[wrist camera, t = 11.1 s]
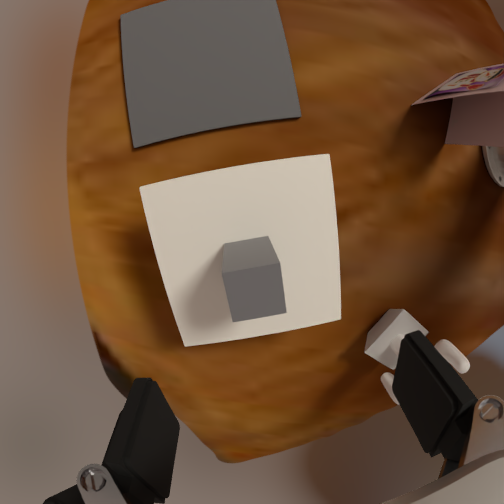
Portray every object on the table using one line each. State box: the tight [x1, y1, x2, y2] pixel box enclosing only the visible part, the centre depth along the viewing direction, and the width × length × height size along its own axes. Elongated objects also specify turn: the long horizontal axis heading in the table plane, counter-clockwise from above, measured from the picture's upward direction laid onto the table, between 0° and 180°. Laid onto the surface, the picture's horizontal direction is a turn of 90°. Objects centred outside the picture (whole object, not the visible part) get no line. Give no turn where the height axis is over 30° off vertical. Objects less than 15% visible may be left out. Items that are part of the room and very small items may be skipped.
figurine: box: [364, 309, 470, 405], centre depth 28 cm, size 7×9×15 cm
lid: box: [139, 154, 341, 347], centre depth 21 cm, size 15×15×7 cm
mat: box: [121, 0, 301, 148], centre depth 23 cm, size 17×17×1 cm
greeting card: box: [412, 64, 504, 148], centre depth 18 cm, size 11×7×15 cm, turn 128°
